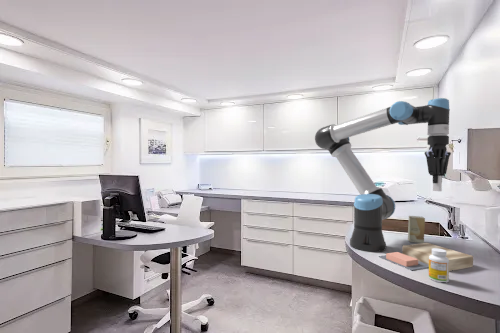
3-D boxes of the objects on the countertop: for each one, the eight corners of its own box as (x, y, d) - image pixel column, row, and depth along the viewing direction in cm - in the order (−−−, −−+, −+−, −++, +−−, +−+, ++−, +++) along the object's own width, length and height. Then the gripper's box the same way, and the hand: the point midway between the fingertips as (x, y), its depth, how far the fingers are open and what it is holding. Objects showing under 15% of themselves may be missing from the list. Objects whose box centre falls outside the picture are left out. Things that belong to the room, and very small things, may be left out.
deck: (402, 255, 113) (402, 245, 113) (426, 251, 117) (426, 242, 117) (446, 271, 96) (446, 260, 96) (473, 266, 101) (473, 256, 100)
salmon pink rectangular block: (397, 251, 110) (397, 256, 110) (386, 253, 108) (386, 258, 108) (418, 259, 101) (418, 264, 101) (406, 261, 99) (406, 266, 99)
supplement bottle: (434, 275, 93) (434, 246, 93) (452, 281, 88) (452, 251, 88) (425, 278, 90) (425, 248, 90) (443, 284, 85) (443, 253, 85)
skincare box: (409, 242, 132) (410, 217, 132) (407, 239, 136) (407, 215, 136) (424, 243, 130) (425, 217, 130) (422, 241, 134) (422, 216, 134)
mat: (378, 256, 110) (378, 256, 110) (398, 254, 114) (398, 253, 114) (412, 270, 96) (412, 269, 96) (433, 267, 100) (433, 266, 100)
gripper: (435, 134, 110) (434, 192, 111) (457, 135, 115) (456, 191, 115) (418, 135, 117) (417, 190, 118) (440, 137, 122) (439, 189, 122)
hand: (437, 190), depth 116 cm, fingers closed
